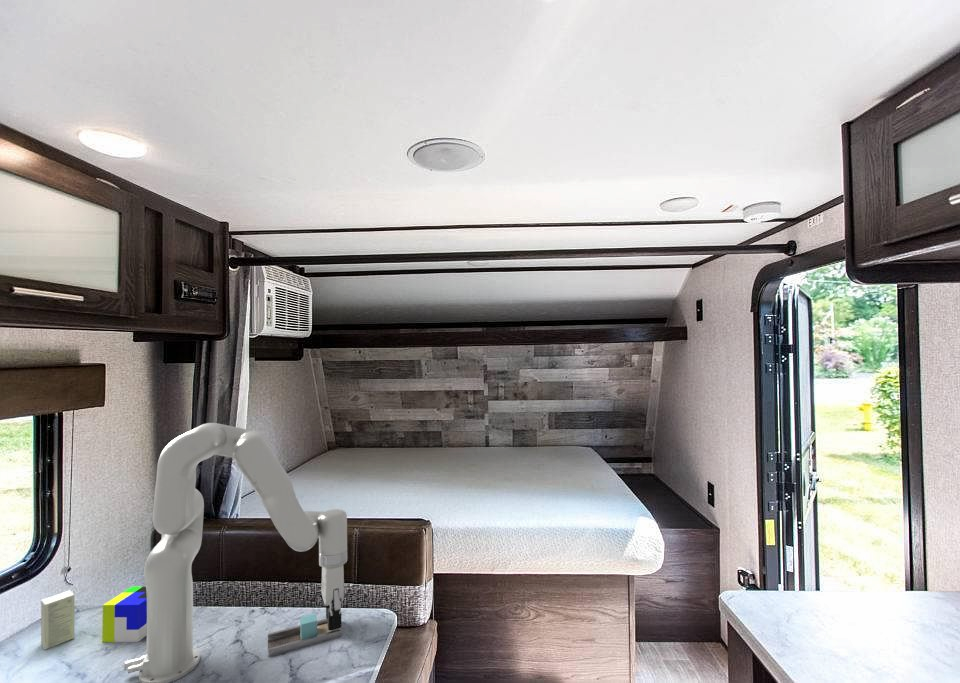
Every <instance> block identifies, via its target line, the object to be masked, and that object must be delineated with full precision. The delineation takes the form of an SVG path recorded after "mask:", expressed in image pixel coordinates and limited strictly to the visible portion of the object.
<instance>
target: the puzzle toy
mask: <svg viewBox="0 0 960 683" xmlns="http://www.w3.org/2000/svg"><path fill="white" fill-rule="evenodd" d="M101 631H102V633H101V634H102V638H101V640H102V643H139V642H141V640H143V638H145V637H147V592H146V586H130V587H129V588H128V589H126V590H124V591H123V592H121V593H119V594H118V595H117V596H115V597H113V598H112V599H110V600H108V601H107V602H106V603H104V604H102V630H101Z"/></svg>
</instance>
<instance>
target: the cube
mask: <svg viewBox="0 0 960 683" xmlns="http://www.w3.org/2000/svg"><path fill="white" fill-rule="evenodd" d="M299 619H300V621H299V623H300V625H299V626H300V633H301V639H305V638H309V637H312V636H316V635H317V621H318V618H317V614H316V612H314V613H311V614H307V615H303V616H302V615H301V616H300V617H299ZM300 633H299V634H300Z"/></svg>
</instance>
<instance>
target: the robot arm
mask: <svg viewBox="0 0 960 683" xmlns="http://www.w3.org/2000/svg"><path fill="white" fill-rule="evenodd" d="M270 443H271V442H270V440H269V438H268V436H267V435H265V434H264V433H262V432H260V431H257V430H251V429H247V428H242V427H241V428H240V427H237V426H232V425H226V424H223V423H217V422H207V423H203V424H201V425H198V426H196V427H194V428H193V429H191V430H189V431H186V432H184V433H183V434H181V435H178V436H177V437H175V438H174V439H172V440H171V441H170V442H168V443H167V445H166V446H164V448H163V449H162V451H161V453H160V455H159V458H158V460H157V468H156V479H155V480H156V482H155V487H154V499H153V508H152V510H153V511H152V524H153V527H154V530H156V531H157V533H159V534H160V535H161V539H160V540H159V542H158V543H156V545H155V546H154V547H153V548H152V549H151V551H150V552H149V554H148V556H147V558H146V560H145V564H144V570H143V572H144V573H143V575H144V582H145V587H146V592H147V635H146V653H145V654H141V656H140V657H137V658H131V659H127V660H125V661H124V667H123V670H124V671H126V670H127V673H128V675H129V674H132V673H135V672H138V673H137V674H138V677H137V678H138V682H139V683H172V682H174V681H175V682H176V681H177V680H179V679H181V678H183V677H185V676H186V675H188V674H189V673H190V672H192V671H193V670H194V669H195V668H196V667H197V666H198V665H199V663H200V659H201V653H200V651H199V650H198V649H196V648H193V646H194V644H193V643H194V642H193V641H194V640H193V639H194V635H193V634H194V618H193V617H194V584H193V583H194V582H193V575H192V574H193V573H192V566H193V565H192V564H193V562H194V560H195V557H196V556H197V554H198V553H199V551H200V549H201V546H202V540H203V529H204V528H203V526H204V514H205V513H204V512H205V510H204V509H205V503H204V502H205V501H204V497H203V495H202V493H201V492H200V491H199V490H198V489H197V488H196V483H197V466H198V464H199V463H200V462H203V461H205V460H208V459H209V458H210V459H211V457H213V456H221V457H226V458H230V459H231V458H232V459H233V461H234V463H235V464H236V466H237V467H238V468H239V470H240V471H241V473H242V475H243V476H244V477H245V479H246V480H247V481H248V482H249V484H250V486H251V487H252V488H253V490H254V491H255V493H256V494H257V495H258V497H259V498H260V500H261V502H262V505H263V507H264V508H265V511H266V513H267V514H268V516H269V518H270V520H271V521H272V523H273V525H274V526H275V529H276V530H277V531H278V533H279V534H280V536H281V537H282V539H283V540H284V541H285V542H286V544H287V545H288V546H289V548H291V549H292V550H293V551H296V552H299V553H300V552H302V553H303V552H307V551H309V550H311V549H312V548H313V547H314V546H315V545H316V543H317V542H318V565H319V567H321V585H320V586H321V590H320V591H321V596H322V600H323V604H324V605H325V619H328V610H327V608H330V615H329V630H330V631H331V630H334V629H338V628H340V629H342V605H341V604H342V603H343V601H344V598H345V595H344V594H345V586H344V585H345V579H344V577H345V576H344V573H345V572H344V571H345V570H344V565H345V564H346V563H347V561H348V516H347V513H346V511H345V510H343V509H338V508H337V509H335V508H334V509H329V510H325V511H318V510H317V511H315V510H313V511H312V510H303V507H302V506H301V504H300V502H299V501H298V498H297V495H296V493H295V490H294V486H293V482H292V480H291V476H290V475H289V474H288V472H286V469H285V468H284V467H283V466H282V464H281V463H280V462H279V460H278V459H277V457H276V456H275V454H274V453H273V451H272V449H271V447H270V446H271V444H270ZM332 607H334V608H333V609H332Z"/></svg>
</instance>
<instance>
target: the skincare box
mask: <svg viewBox="0 0 960 683" xmlns="http://www.w3.org/2000/svg"><path fill="white" fill-rule="evenodd" d="M40 603H41V604H40V606H41V607H40V609H41V610H40V614H41V616H40V618H41V620H40V624H41V625H40V626H41V627H40V628H41V630H40V632H41V633H40V636H41V638H40V639H41V640H40V642H41V646H42V648H43V650H48V649H50V648H53V647H55V646H57V645H60V644H63V643H65V642H68V641H71V640H72V639H74V638H75V594H74V593H73V591H71V590H70V589H69V590H67V591H63V592H60V593H58V594H57V593H56V594H53V595H52V596H49V597H46V598H42V599H41V600H40Z"/></svg>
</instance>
